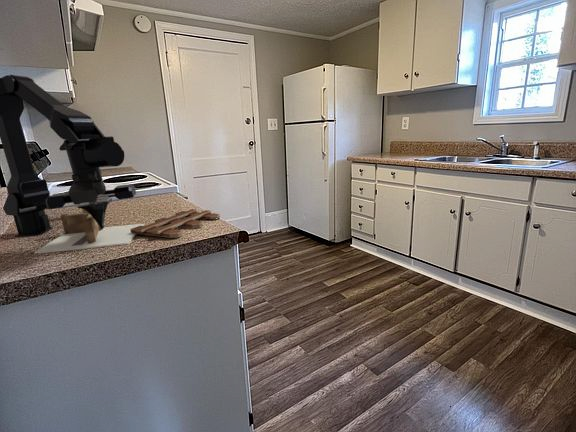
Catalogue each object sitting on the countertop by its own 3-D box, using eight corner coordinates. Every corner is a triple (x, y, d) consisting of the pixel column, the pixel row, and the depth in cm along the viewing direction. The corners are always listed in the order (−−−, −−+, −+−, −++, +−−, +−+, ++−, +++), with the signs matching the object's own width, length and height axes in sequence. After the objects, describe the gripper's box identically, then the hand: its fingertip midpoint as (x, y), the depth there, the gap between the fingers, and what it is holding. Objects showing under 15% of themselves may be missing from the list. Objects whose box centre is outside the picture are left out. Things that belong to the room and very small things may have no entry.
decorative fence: (127, 234, 81) (173, 239, 76) (126, 228, 81) (172, 233, 75) (184, 213, 102) (223, 216, 97) (184, 208, 101) (223, 211, 96)
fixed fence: (63, 234, 84) (58, 216, 82) (67, 231, 86) (62, 213, 85) (99, 231, 85) (95, 212, 84) (102, 228, 88) (99, 210, 86)
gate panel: (92, 231, 84) (87, 211, 83) (99, 230, 85) (95, 210, 84) (86, 243, 75) (81, 221, 73) (95, 242, 76) (90, 220, 74)
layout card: (34, 253, 71) (34, 251, 71) (69, 231, 87) (68, 230, 87) (127, 244, 75) (127, 242, 75) (144, 224, 91) (144, 223, 91)
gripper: (24, 177, 65) (47, 246, 69) (121, 166, 70) (136, 231, 74) (46, 171, 75) (65, 231, 80) (129, 162, 80) (142, 219, 85)
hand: (102, 228), depth 79 cm, fingers closed
